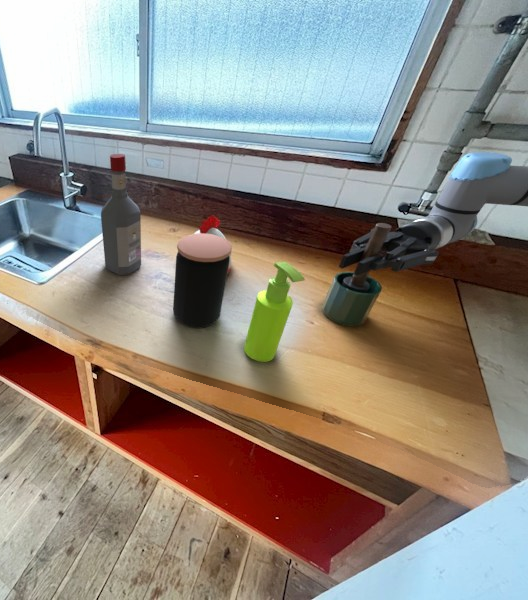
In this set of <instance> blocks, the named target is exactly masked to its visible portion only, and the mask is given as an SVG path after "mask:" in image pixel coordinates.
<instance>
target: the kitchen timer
mask: <svg viewBox="0 0 528 600" xmlns="http://www.w3.org/2000/svg"><path fill="white" fill-rule="evenodd" d="M220 223H221V220H219V218H218V217H216V216H215V215H213V214H211V215H210V216H207V219H206V220H205V219H203V220H202V226H201V225H199V227H198V229H197V231H195V232H194V233H193V234H200V233H204V234H212V235H217V236H220V237H222V238H225V239H226V240H227V237H225V235H224V234H223V233H222V231H221V230H220V229H219V226H220V225H221V224H220ZM229 256H230V261H229V267H228V273H227V275H229V273H230V271H231V267H232V250H231V253H230V255H229Z"/></svg>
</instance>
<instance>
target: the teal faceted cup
mask: <svg viewBox="0 0 528 600" xmlns="http://www.w3.org/2000/svg"><path fill="white" fill-rule="evenodd" d="M354 272H355V271H341V272H338V273H336V274H335V275H334V278H333V279H332V281H331V284H330V286H329V288H328V290H327V293H326V296H325V298H324V300H323V302H322V305H321V312H322V314H323V315H324V316H325V317H326V318H327V319H329V320H330V321H332V322H334V323H336V324H339V325H342V326H346V327H357V326H361V325H363V324H364V323H365V321H366V320H367V318H368V316H369V314H370V313H371V311H372V309H373V308H374V305H375V303H376V302H377V300H378V298H379V296H380V294H381V293H382V290H383V287H382V285H381V283H380V282H379V281H378V280H376V279H375V278H373V277H371V276H369V275H368V276H367V278H366V280H365V281H367V282H368V283H369V284H370V288H369V290H368V292H367V293H359V292H355V291H352V290H349V289H347V288H345V287H343V286H342V283H343V280H344V279H345V278H346V277H352V276H353V274H354Z"/></svg>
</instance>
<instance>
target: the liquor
mask: <svg viewBox="0 0 528 600" xmlns="http://www.w3.org/2000/svg"><path fill="white" fill-rule="evenodd" d="M109 160H110V161H109V162H110V171H111V182H112V183H111V185H112V186H111V187H112V191H111V196H110V198H108V200H107V202H106V203H105V204H104V205H103V207H102V208H101V211H100V221H101V232H102V242H103V243H102V244H103V253H104V265H105V269H106V270H107V271H110V272H112V273H114V274H116V275H118V276H127V275H131V274H132V273H134V272H136V270H138V269H140V268H141V266H142V225H141V222H142V221H141V220H142V219H141V218H142V217H141V210H140V208H139V206H138V205H137V204H136V203H135V202H134V200H133V199H131V198H130V197H129V195H128V192H127V179H126V177H127V176H126V170H127V166H126V165H127V164H126V154H125V153H124V154H123V153H114V154H111V155H109Z"/></svg>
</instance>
